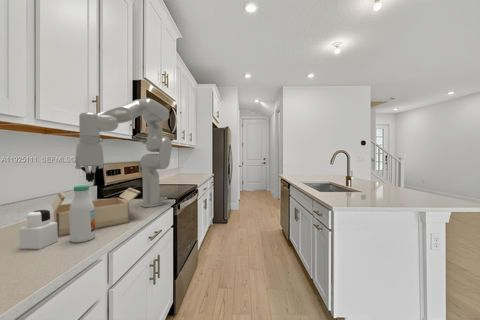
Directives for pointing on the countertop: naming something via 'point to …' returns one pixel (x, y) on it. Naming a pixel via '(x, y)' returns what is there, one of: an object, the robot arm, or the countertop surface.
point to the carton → (105, 214)
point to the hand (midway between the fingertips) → (90, 181)
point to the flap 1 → (58, 201)
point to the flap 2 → (129, 194)
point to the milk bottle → (81, 216)
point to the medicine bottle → (38, 231)
